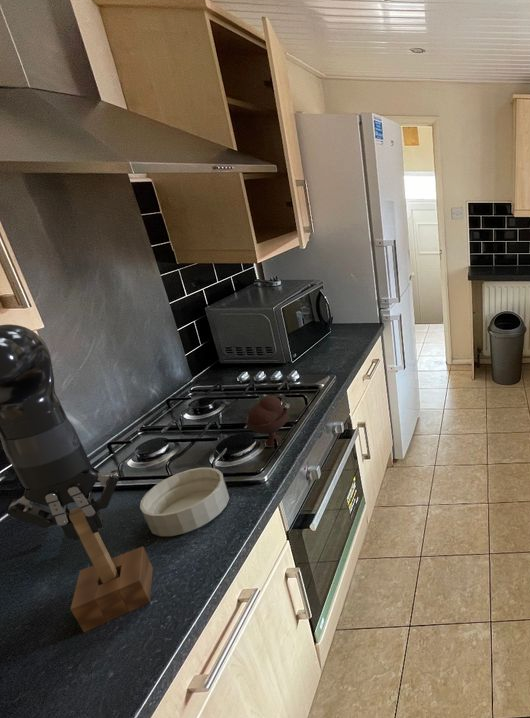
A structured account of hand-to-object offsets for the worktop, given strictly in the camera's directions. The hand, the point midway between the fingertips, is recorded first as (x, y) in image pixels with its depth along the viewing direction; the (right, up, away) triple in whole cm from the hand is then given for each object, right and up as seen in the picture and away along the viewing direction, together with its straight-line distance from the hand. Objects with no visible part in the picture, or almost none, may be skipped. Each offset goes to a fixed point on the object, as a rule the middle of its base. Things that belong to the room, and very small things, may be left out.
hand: (87, 532), depth 72 cm
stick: (0, -14, +6) cm, 15 cm away
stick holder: (0, -15, +6) cm, 16 cm away
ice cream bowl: (+4, +2, +50) cm, 50 cm away
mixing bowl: (-2, -7, +26) cm, 27 cm away
